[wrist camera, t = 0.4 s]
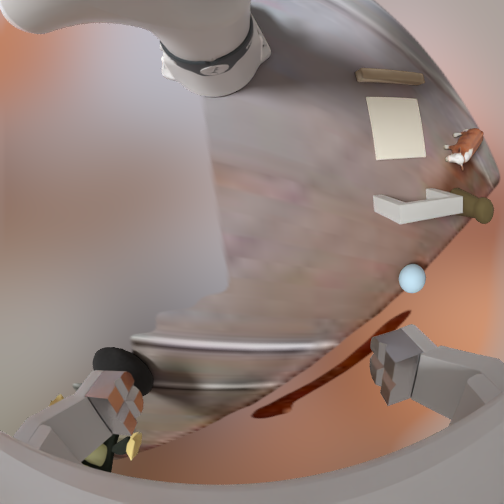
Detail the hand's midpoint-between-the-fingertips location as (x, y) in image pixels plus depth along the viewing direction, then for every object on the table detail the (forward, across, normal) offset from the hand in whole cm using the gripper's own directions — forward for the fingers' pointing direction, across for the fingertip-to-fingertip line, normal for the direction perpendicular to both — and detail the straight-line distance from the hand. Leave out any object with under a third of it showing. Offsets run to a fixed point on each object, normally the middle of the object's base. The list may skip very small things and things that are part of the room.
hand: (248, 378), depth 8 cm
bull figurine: (+39, -45, -10) cm, 60 cm away
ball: (+39, -31, +17) cm, 52 cm away
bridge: (+40, -31, 0) cm, 51 cm away
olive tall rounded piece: (+40, -46, +2) cm, 61 cm away
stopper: (+37, -30, -23) cm, 54 cm away
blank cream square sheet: (+38, -30, -14) cm, 51 cm away
